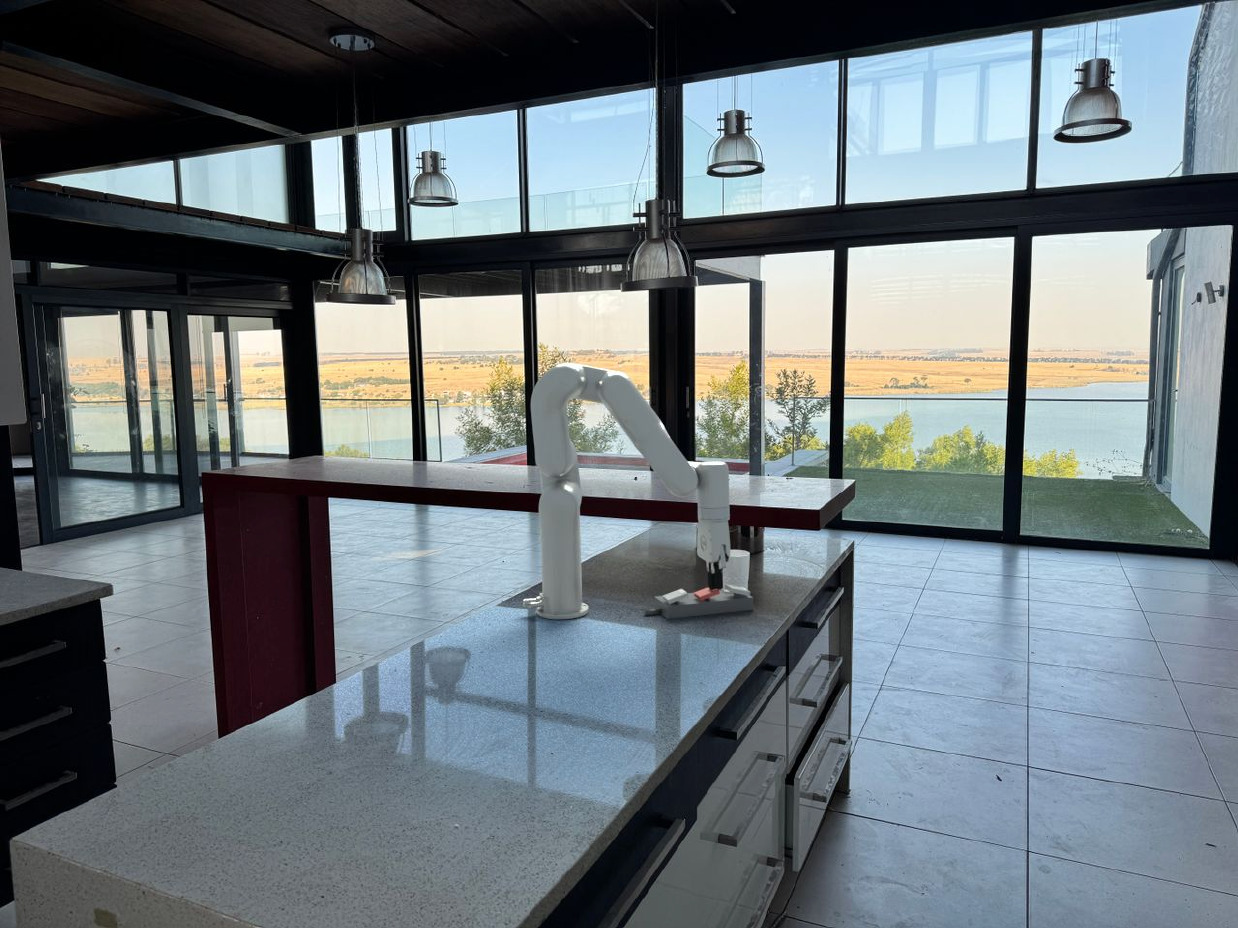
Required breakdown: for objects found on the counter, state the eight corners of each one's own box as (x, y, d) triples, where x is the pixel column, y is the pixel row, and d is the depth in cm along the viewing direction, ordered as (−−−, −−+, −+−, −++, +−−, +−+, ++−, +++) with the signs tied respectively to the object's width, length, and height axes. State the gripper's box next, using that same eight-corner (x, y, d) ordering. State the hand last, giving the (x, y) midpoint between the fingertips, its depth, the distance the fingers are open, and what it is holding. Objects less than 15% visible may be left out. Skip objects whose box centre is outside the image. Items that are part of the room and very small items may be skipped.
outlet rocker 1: (669, 604, 201) (668, 599, 201) (663, 599, 205) (662, 595, 205) (688, 596, 202) (687, 592, 202) (682, 592, 206) (681, 588, 206)
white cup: (751, 594, 221) (751, 556, 219) (720, 594, 221) (720, 556, 219) (747, 586, 228) (747, 549, 227) (717, 586, 229) (717, 549, 227)
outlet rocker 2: (701, 600, 203) (700, 596, 203) (694, 596, 207) (693, 592, 207) (719, 593, 205) (718, 589, 204) (713, 589, 208) (712, 585, 208)
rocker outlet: (731, 592, 205) (732, 587, 205) (724, 588, 209) (725, 583, 209) (749, 595, 207) (750, 591, 207) (742, 591, 211) (743, 587, 211)
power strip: (651, 620, 200) (651, 605, 199) (639, 610, 208) (639, 595, 208) (753, 609, 207) (753, 595, 207) (737, 599, 216) (737, 585, 215)
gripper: (687, 509, 210) (689, 582, 212) (711, 519, 196) (713, 598, 198) (715, 507, 212) (717, 579, 214) (741, 517, 198) (743, 594, 200)
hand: (715, 588), depth 206 cm, fingers closed
